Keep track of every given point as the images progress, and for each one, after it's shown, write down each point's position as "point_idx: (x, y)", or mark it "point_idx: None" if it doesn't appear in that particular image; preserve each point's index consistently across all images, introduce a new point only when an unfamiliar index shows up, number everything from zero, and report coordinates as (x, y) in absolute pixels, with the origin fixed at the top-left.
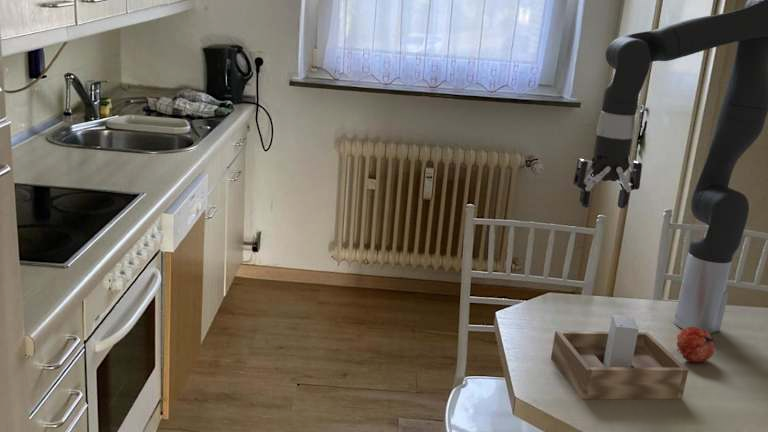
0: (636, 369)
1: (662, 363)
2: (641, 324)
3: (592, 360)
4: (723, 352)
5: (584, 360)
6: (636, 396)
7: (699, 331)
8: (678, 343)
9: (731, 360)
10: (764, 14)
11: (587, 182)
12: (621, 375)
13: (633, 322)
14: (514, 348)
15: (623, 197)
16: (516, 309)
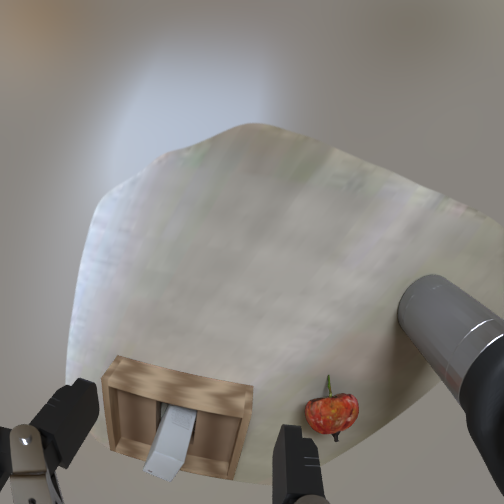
0: None
1: (234, 442)
2: (343, 288)
3: (146, 410)
4: (390, 383)
5: (136, 407)
6: None
7: (331, 431)
8: (306, 408)
9: (379, 401)
10: None
11: (32, 466)
12: None
13: (174, 471)
14: (79, 319)
15: (273, 495)
16: (130, 188)
